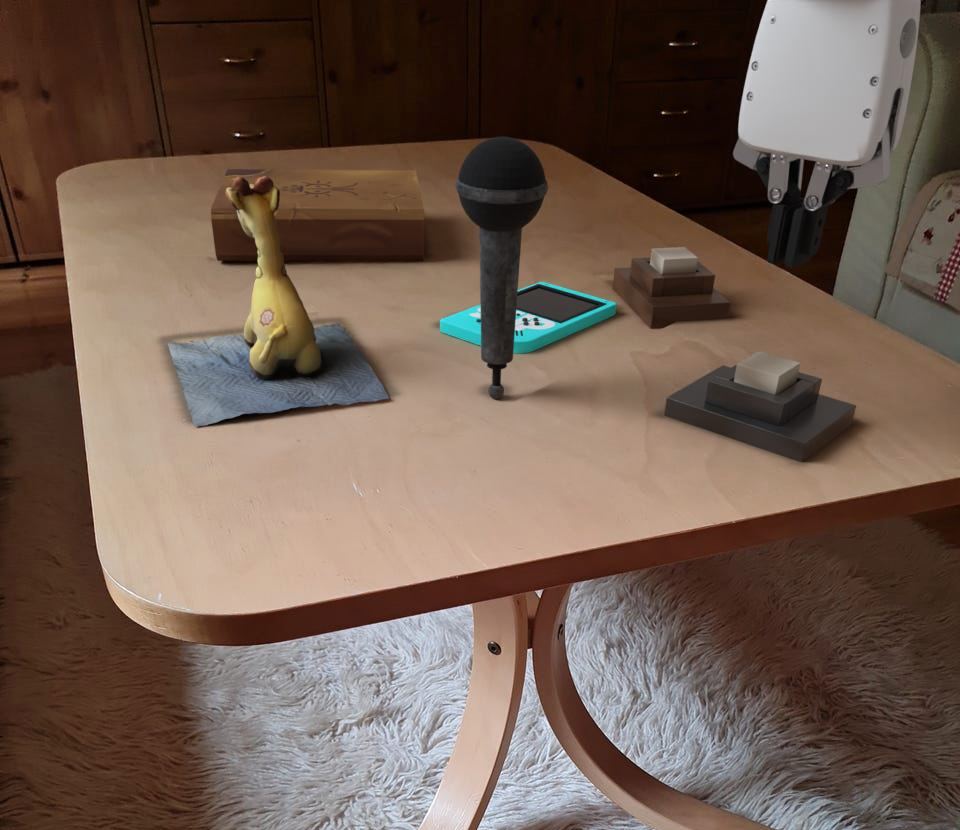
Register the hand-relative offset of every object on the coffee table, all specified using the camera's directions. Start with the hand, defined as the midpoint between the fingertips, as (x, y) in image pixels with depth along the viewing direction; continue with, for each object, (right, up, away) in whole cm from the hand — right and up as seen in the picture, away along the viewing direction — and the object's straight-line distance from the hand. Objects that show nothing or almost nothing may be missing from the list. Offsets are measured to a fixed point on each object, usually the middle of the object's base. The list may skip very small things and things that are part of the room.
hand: (789, 260), depth 73 cm
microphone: (-21, -7, +12) cm, 25 cm away
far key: (-3, +10, +28) cm, 30 cm away
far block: (-3, +7, +30) cm, 31 cm away
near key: (0, -8, +6) cm, 9 cm away
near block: (0, -10, +8) cm, 13 cm away
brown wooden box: (-41, +20, +47) cm, 65 cm away
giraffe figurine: (-41, -4, +15) cm, 44 cm away
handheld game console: (-18, +4, +26) cm, 32 cm away
